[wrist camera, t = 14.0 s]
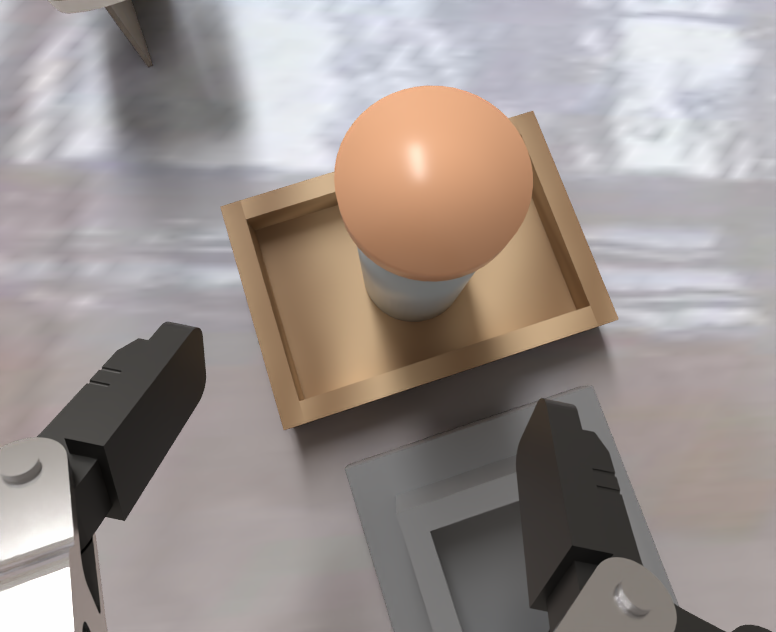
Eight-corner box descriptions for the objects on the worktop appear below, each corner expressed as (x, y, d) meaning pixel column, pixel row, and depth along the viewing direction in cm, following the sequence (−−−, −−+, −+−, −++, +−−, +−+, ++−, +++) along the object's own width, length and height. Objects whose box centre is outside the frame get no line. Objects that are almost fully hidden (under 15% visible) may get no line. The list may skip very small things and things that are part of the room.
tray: (293, 427, 24) (283, 430, 22) (234, 222, 26) (220, 206, 24) (598, 326, 25) (618, 319, 23) (521, 134, 27) (532, 110, 25)
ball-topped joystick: (375, 341, 24) (366, 298, 13) (343, 236, 25) (311, 115, 14) (484, 308, 25) (561, 239, 14) (448, 205, 25) (495, 63, 15)
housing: (428, 732, 22) (439, 827, 17) (347, 464, 24) (336, 481, 19) (678, 640, 23) (759, 707, 18) (580, 386, 24) (628, 383, 20)
